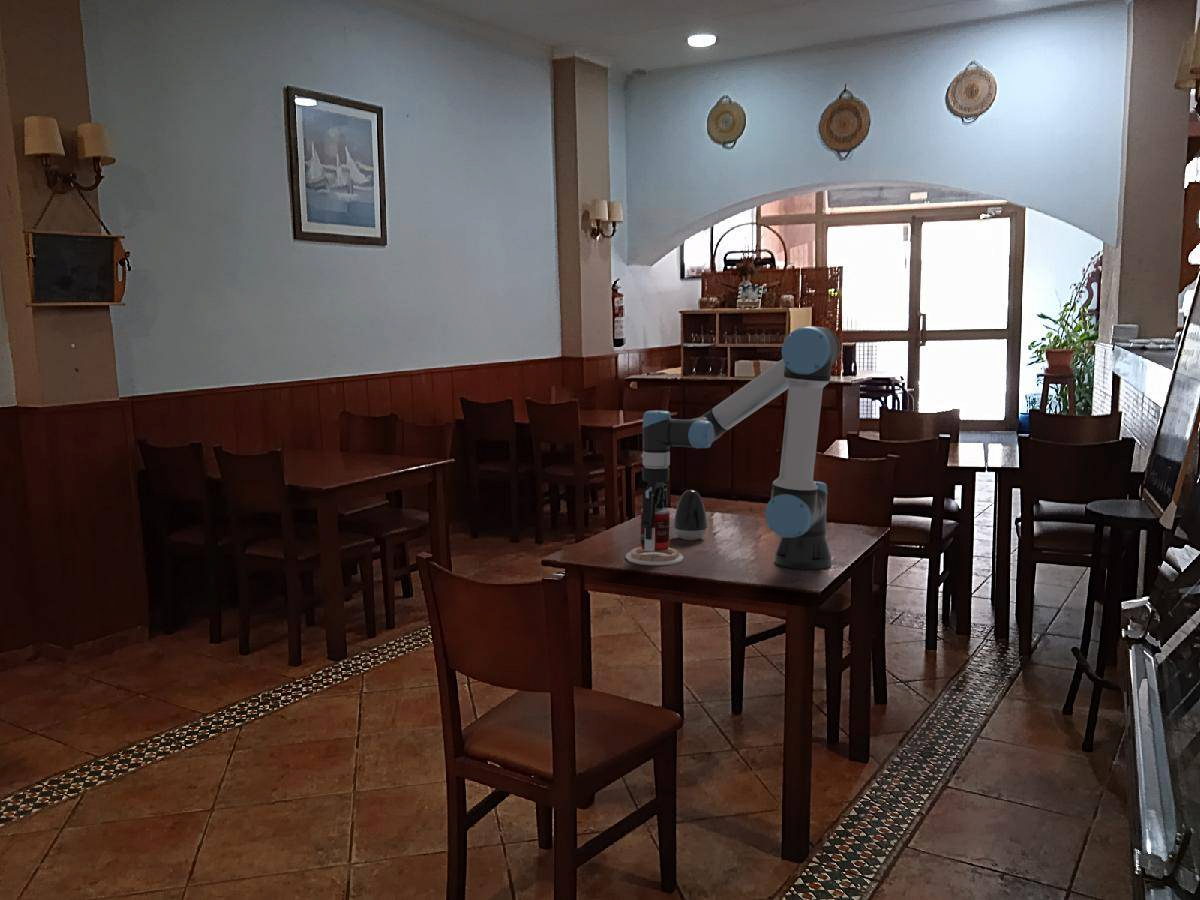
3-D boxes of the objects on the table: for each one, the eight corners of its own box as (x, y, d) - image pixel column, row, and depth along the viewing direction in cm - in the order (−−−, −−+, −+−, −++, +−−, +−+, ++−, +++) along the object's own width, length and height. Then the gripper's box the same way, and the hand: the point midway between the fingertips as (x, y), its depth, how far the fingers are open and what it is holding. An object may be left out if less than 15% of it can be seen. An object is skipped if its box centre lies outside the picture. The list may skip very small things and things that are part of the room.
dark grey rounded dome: (706, 535, 298) (707, 487, 296) (707, 542, 288) (708, 492, 286) (673, 534, 299) (674, 486, 297) (673, 541, 289) (673, 492, 287)
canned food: (642, 544, 271) (642, 506, 270) (670, 545, 270) (670, 507, 269) (638, 550, 264) (639, 511, 263) (667, 551, 263) (668, 512, 261)
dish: (690, 555, 272) (690, 548, 271) (672, 568, 257) (672, 560, 257) (638, 549, 278) (638, 543, 278) (617, 562, 263) (617, 554, 263)
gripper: (655, 461, 275) (654, 538, 278) (629, 470, 256) (628, 553, 259) (680, 462, 272) (679, 541, 275) (655, 472, 253) (654, 556, 256)
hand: (654, 547), depth 267 cm, fingers closed on canned food, 8 cm apart
